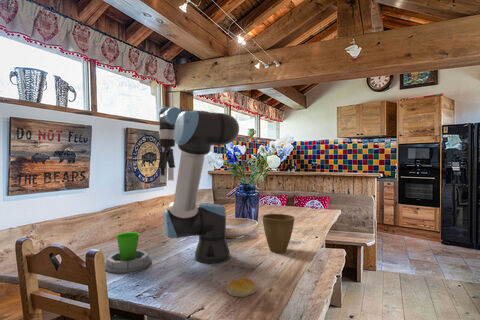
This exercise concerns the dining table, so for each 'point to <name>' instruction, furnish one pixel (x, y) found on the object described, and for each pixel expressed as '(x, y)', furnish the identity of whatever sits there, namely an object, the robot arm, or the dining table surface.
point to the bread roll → (241, 287)
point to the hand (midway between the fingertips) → (167, 181)
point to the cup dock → (127, 263)
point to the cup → (127, 245)
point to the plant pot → (278, 231)
